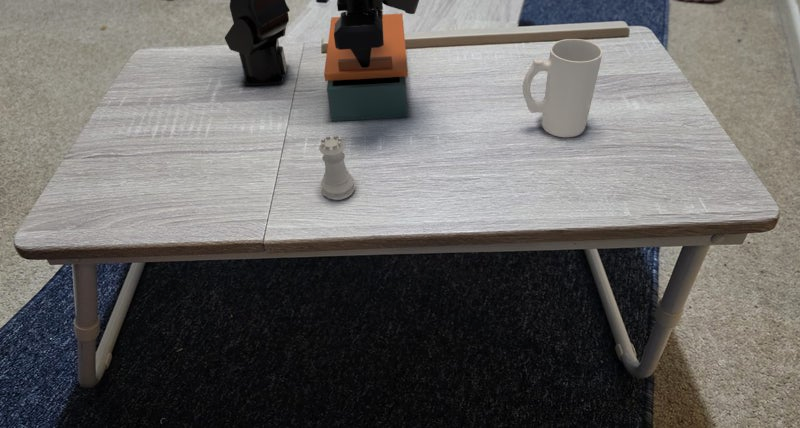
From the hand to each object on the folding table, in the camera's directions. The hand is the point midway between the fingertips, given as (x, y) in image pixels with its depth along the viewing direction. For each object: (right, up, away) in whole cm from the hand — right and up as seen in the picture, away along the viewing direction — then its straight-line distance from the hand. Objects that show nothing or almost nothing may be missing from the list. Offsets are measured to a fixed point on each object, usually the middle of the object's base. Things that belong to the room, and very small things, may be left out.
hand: (365, 66), depth 85 cm
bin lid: (0, +5, +9) cm, 10 cm away
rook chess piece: (-3, -19, -9) cm, 21 cm away
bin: (0, -1, +10) cm, 10 cm away
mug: (+28, -9, 0) cm, 29 cm away
